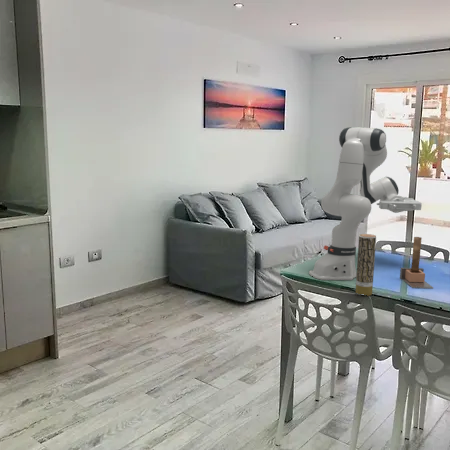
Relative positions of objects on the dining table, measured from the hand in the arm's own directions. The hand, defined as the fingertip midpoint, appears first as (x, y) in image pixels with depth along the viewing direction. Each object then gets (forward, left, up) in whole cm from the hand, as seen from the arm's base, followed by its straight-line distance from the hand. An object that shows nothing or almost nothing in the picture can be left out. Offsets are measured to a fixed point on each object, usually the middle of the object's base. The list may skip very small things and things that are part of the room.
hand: (404, 207), depth 246 cm
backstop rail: (-5, -22, -32) cm, 39 cm away
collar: (-5, -19, -32) cm, 37 cm away
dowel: (-5, -19, -31) cm, 37 cm away
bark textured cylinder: (-38, -32, -32) cm, 59 cm away
